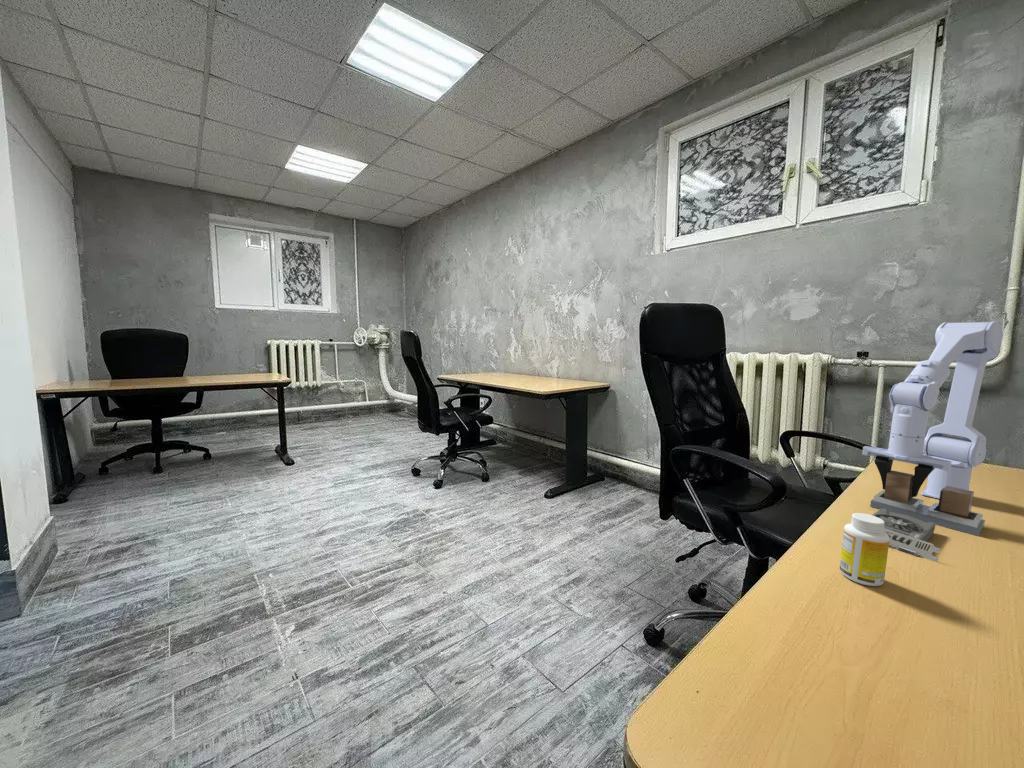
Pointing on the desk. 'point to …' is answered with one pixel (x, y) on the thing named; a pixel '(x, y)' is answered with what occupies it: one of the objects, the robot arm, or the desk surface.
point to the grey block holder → (939, 510)
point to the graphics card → (908, 533)
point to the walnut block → (899, 486)
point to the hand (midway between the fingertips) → (899, 492)
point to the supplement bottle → (864, 550)
